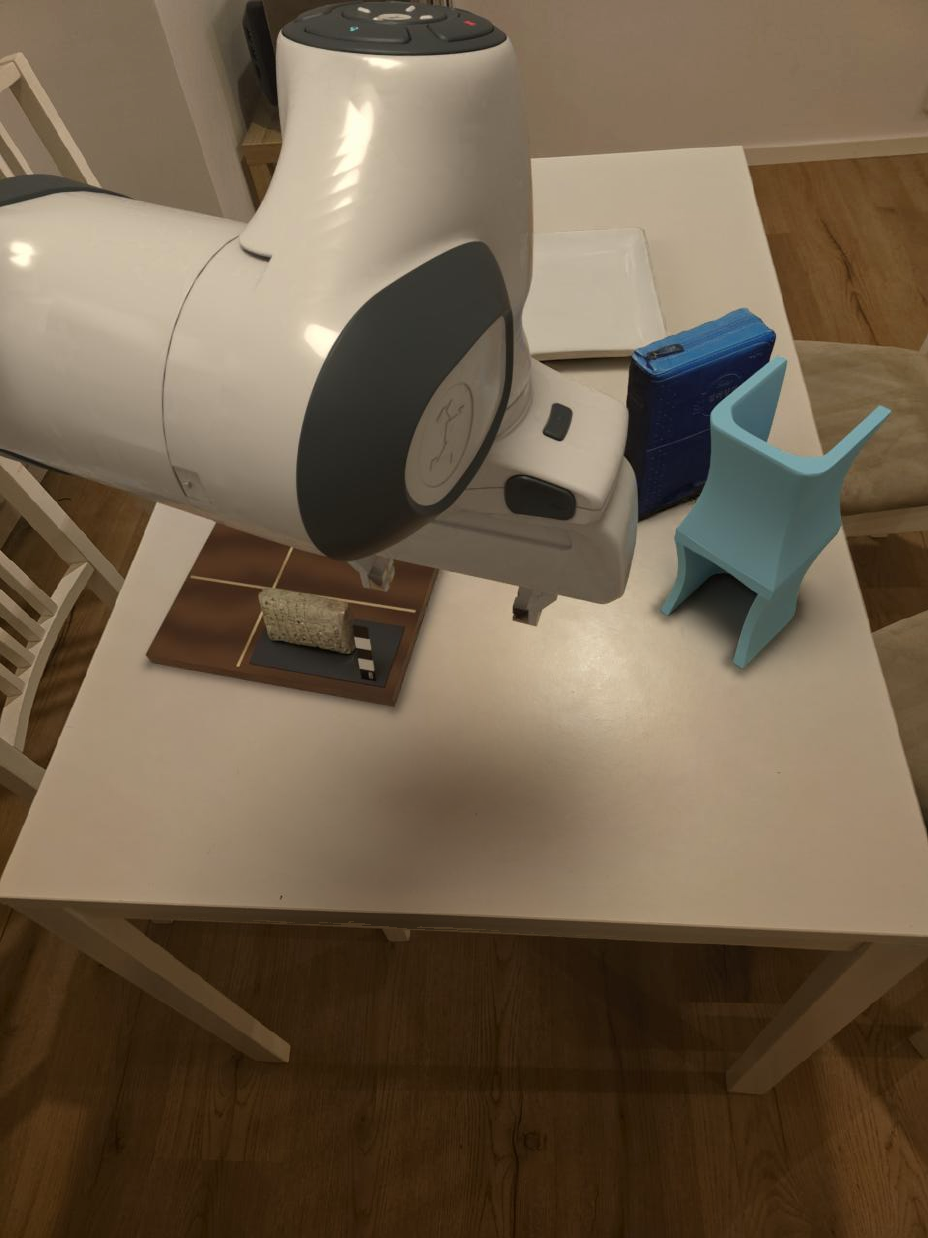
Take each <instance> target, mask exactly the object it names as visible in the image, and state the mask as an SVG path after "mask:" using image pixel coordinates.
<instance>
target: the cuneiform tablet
mask: <svg viewBox="0 0 928 1238" xmlns="http://www.w3.org/2000/svg"><path fill="white" fill-rule="evenodd" d="M258 598H259V603H260V605H261V610H262V613H263V619H264V622H265V625H266V629H267V633H268V636H269V638H270V639H271V640H275V641H279V640H281V641H285V642H290V643H293V644H298V645H306V646H313V647H320V648H322V649H328V650H331V651H338V652H340V653H344V654H350V653H352V651H354V649H355V648H356V650H357V656H358V661H359V667H360V673H361V679H367V680H372V681H376V676H375V670H374V663H373V656H372V650H371V643H370V637H369V630H368V627H364V626H358V625H355V620H354V616H353V613H352V611H351V608H350V605H349V604H348V603H347V602H341V601H338V600H335V599H328V598H325V597H320V596H317V595H312V594H305V593H300V592H293V591H285V590H276V589H272V588H264V589H263V590H262V592H260V593H259V594H258Z"/></svg>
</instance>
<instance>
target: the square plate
mask: <svg viewBox="0 0 928 1238" xmlns="http://www.w3.org/2000/svg"><path fill="white" fill-rule="evenodd" d="M522 323H523V328H524V332H525V335H526V337H527V340H528V344H529V349H530V355H531V357H533V358H534V359H536V360H538V361H539V362H541V361H553V360H571V359H588V358H589V359H591V358H620V357H623V358H625V357H631V354H632V353H633V351H635V350H636V349H638V348H641V347H645V346H647V345H649V344H651V343H652V342H655V341H659V340H662V339H664V338H666V337H668V336H670V334H669V330H668V326H667V322H666V319H665V315H664V310H663V307H662V302H661V298H660V295H659V291H658V286H657V282H656V277H655V272H654V267H653V264H652V257H651V253H650V248H649V242H648V238H647V235H646V232H645V230H644V229H643V228H642V227H624V228H623V227H622V228H609V229H608V228H604V229H583V230H565V231H551V232H536V233H535V232H534V247H533V277H532V282H531V287H530V292H529V294H528V297H527V300H526V303H525V306H524V309H523V315H522Z"/></svg>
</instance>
